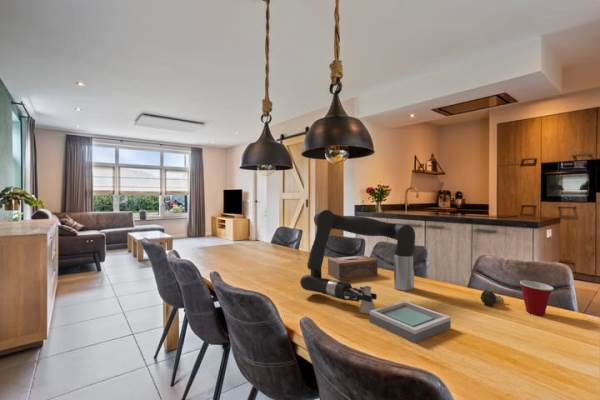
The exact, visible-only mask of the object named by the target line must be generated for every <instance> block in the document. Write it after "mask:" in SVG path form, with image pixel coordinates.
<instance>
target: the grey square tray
mask: <svg viewBox="0 0 600 400" xmlns="http://www.w3.org/2000/svg"><path fill="white" fill-rule="evenodd" d="M451 319H452V317H451V316H449V315H447V314H444V313H441V312H437V311H434V310H433V309H432V310H431V309H428V308H426V307H423V306H421V305H418V304H414V303H412V302H409V301H406V300H402V301H399V302H395V303H391V304H387V305H385V306H380V307H377V308H376V309H374V310H370V314H369V322H370V323H371V324H374V325H376V326H377V327H380V328H382V329H384V330H386V331H388V332H390V333H392V334H394V335H396V336H398V337H401V338H403V339H405V340H406V341H409V342H412V343H413V344H417V343H421V342H422V341H424V339H425V340H427V339H429V338H431V336H432V337H434V336H436V335H438V333H439V334H441V333H443V332H446V331H449V330H450V328H451V327H452V325H451Z"/></svg>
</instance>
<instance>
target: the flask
mask: <svg viewBox="0 0 600 400" xmlns="http://www.w3.org/2000/svg"><path fill="white" fill-rule="evenodd" d="M362 287H363V288H364V295H368V296H371V293H372V292H371V291H372V286H369V285H365V286H362ZM371 297H372V296H371ZM374 309H377V308H376V306H375V302H374V299H372V302H368V301H364V300H363V301H361V303H360V305H359V308H358V311H359V312H360V313H362V314H367V315H370V310H374Z"/></svg>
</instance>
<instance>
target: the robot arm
mask: <svg viewBox="0 0 600 400" xmlns="http://www.w3.org/2000/svg"><path fill="white" fill-rule="evenodd" d="M313 221H314V224H315V226H316V233H315V238H314V241H313V243H312V245H311V249H310V251H309V255H308V256H309V257H308V260H307V269H308V270H310V274H306V275H303V276H302V277H301V279H300V280H299V281H300V287H302V289H304V290H305V291H309V292H310V291H311V292H315V293H321V294H322V295H326V296H329V297H331V298H332V297H333V298H335V299H338V300H341V301H350V302H358V303H359V301H361V302H362V301H363V300H364V301H368V302H372V300H373V301H374V300H375V301H376V300H377V297H378V296H377V293H374V292H371V296H372V297H371V296H368V295H364V288H363V287H364V286H359V288H358V287H353V286H352V284H351V283H350V282H346V281H343V280H337V279H330V278H324V277H323V275H322V267H323V262H324V257H325V253H326V252H325V251H326V247H327V243H328V241H329V237H330V234H331V231H332V230H339V231H343V232H347V233H352V234H353V235H354V234H356V235H360V236H365V237H366V236H367V237H384V238H385V237H386V238H389V239H393V240H395V241H397V243H396V247H395V248H394V250H393V287H394V289H395V290H398V291H402V292H403V291H404V292H409V291H413V290H414V288H415V270H414V252H415V247H416V232H415V229H414V227H413V226H412V225H410V224H406V223H395V222H393V223H392V222H385V221H381V220H379V219H375V218H371V217H365V216H361V215H360V216H358V215H340V214H335V213H333V212H332V211H331V210H329V209H323V210H322V209H321V210H320V211H318V212H316V214H315V215H314V217H313Z"/></svg>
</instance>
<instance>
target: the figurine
mask: <svg viewBox="0 0 600 400" xmlns="http://www.w3.org/2000/svg"><path fill="white" fill-rule="evenodd" d="M480 300H481V302H482V303H483V304H484V305H485V306H489V307H490V306H491V307H492V306H493V305H495V304H496V302H500V303H501V302H503V301H504V297H502V296H501V295H497V294H496V293H494V292H493V291H492V290H487V289H485V290H483V291H482V292H481V294H480Z"/></svg>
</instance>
